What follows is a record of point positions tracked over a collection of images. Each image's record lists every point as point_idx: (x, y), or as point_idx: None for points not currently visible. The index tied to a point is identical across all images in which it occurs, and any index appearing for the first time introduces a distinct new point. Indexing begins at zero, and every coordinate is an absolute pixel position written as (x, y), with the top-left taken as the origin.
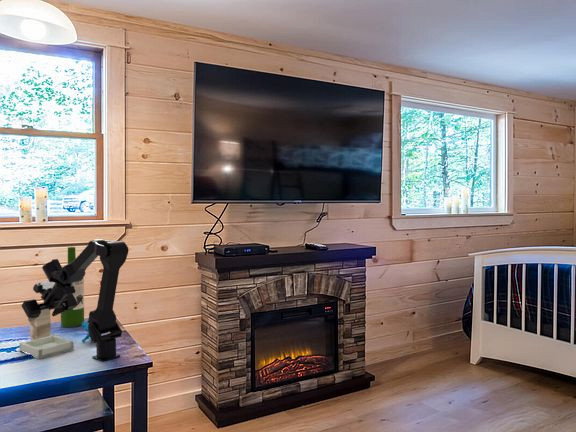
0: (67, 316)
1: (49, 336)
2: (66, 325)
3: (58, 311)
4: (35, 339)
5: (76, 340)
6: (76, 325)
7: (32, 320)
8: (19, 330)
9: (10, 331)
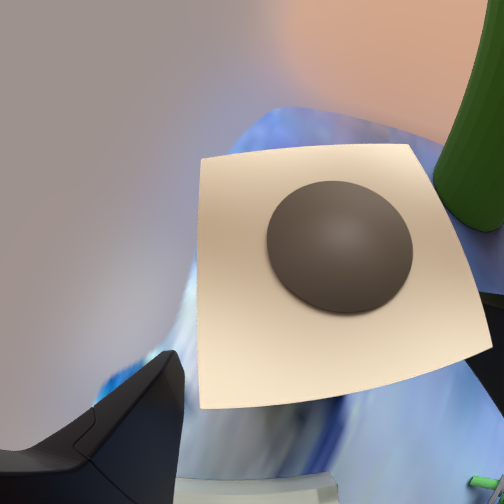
0: (478, 183)
1: (298, 501)
2: (454, 208)
3: (499, 379)
4: (199, 496)
5: (429, 487)
6: (486, 230)
7: (174, 431)
8: (281, 135)
9: (252, 130)
